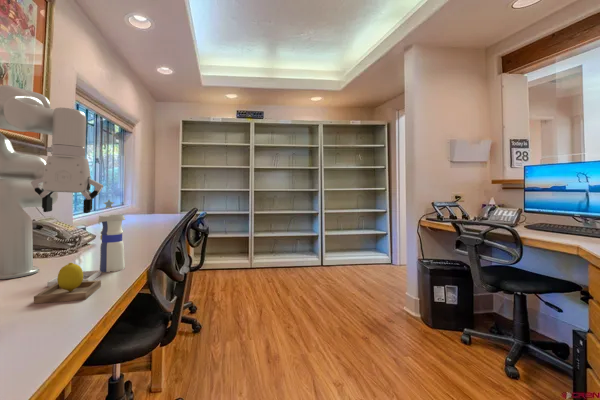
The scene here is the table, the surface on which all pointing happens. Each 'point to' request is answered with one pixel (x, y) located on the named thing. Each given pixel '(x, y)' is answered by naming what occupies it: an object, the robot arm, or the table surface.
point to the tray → (67, 292)
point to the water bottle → (111, 242)
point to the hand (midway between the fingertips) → (67, 212)
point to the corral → (85, 273)
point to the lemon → (70, 277)
